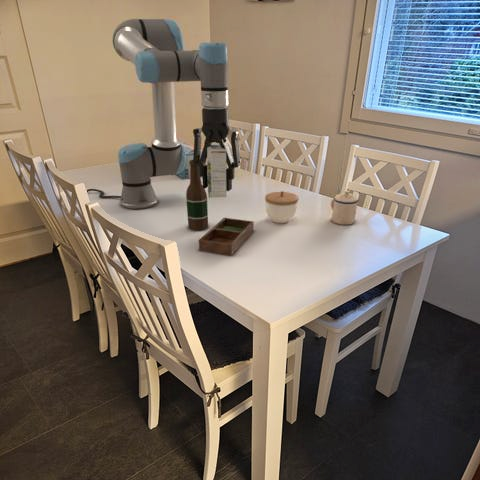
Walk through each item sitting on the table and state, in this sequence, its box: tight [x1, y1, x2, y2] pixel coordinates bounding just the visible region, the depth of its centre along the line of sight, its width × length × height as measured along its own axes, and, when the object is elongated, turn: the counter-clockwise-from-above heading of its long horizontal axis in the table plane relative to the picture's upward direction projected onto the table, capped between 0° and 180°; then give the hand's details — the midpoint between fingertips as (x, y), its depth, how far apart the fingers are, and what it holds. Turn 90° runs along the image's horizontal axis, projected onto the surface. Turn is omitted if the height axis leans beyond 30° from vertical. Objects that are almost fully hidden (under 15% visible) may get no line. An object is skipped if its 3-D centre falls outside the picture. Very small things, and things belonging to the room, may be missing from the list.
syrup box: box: [206, 144, 227, 199], centre depth 128 cm, size 6×6×14 cm
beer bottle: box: [185, 160, 209, 232], centre depth 150 cm, size 8×8×24 cm
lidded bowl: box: [264, 190, 299, 224], centre depth 160 cm, size 13×13×11 cm
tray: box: [198, 217, 255, 257], centre depth 145 cm, size 12×22×4 cm, turn 160°
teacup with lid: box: [330, 189, 359, 226], centre depth 160 cm, size 12×9×12 cm
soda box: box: [175, 137, 207, 180], centre depth 224 cm, size 41×14×13 cm, turn 30°
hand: (217, 188), depth 131 cm, fingers closed on syrup box, 7 cm apart
